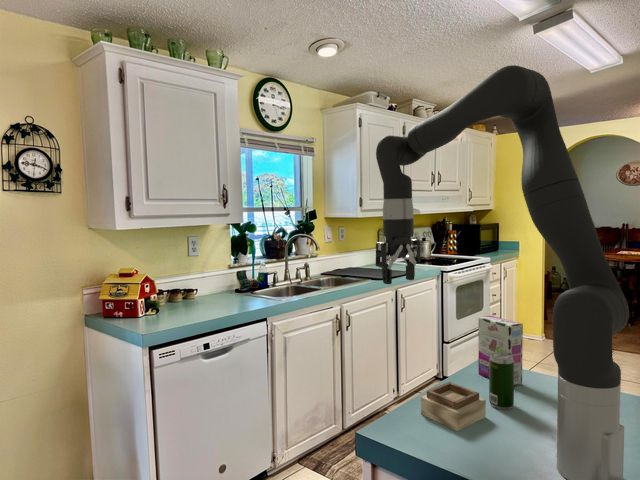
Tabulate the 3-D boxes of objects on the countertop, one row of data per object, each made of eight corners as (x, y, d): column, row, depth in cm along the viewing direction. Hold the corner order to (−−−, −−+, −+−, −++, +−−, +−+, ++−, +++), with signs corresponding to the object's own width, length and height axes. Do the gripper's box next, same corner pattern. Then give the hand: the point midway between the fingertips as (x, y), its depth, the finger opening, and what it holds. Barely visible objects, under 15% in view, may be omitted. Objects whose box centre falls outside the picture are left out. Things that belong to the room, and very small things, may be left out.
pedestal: (485, 417, 98) (485, 393, 98) (457, 431, 92) (457, 405, 92) (448, 401, 106) (448, 379, 106) (420, 414, 100) (420, 390, 100)
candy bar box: (523, 384, 115) (524, 323, 114) (509, 388, 113) (510, 326, 112) (490, 370, 125) (490, 314, 124) (477, 374, 123) (477, 316, 122)
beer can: (504, 412, 100) (505, 361, 99) (484, 404, 104) (484, 355, 104) (518, 406, 103) (519, 356, 102) (498, 398, 107) (498, 350, 107)
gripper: (390, 218, 102) (391, 287, 103) (428, 216, 111) (428, 280, 112) (367, 218, 108) (368, 283, 109) (405, 216, 117) (406, 277, 118)
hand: (399, 281), depth 110 cm, fingers open, 8 cm apart
